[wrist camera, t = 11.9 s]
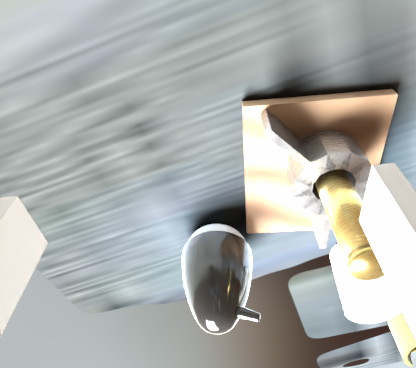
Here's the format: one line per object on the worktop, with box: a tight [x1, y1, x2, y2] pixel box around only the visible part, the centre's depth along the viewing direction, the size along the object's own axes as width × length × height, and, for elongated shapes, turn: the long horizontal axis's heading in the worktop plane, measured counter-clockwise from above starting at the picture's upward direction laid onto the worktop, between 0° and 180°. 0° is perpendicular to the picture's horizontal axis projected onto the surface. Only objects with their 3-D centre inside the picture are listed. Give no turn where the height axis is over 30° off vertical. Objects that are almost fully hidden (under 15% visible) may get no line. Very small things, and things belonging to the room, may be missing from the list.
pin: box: [314, 169, 385, 280], centre depth 34 cm, size 4×4×16 cm
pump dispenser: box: [182, 224, 261, 334], centre depth 45 cm, size 10×10×15 cm
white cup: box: [330, 244, 402, 324], centre depth 49 cm, size 8×8×10 cm
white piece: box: [261, 109, 372, 249], centre depth 39 cm, size 18×12×5 cm, turn 6°
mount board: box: [242, 89, 398, 234], centre depth 42 cm, size 20×16×2 cm
